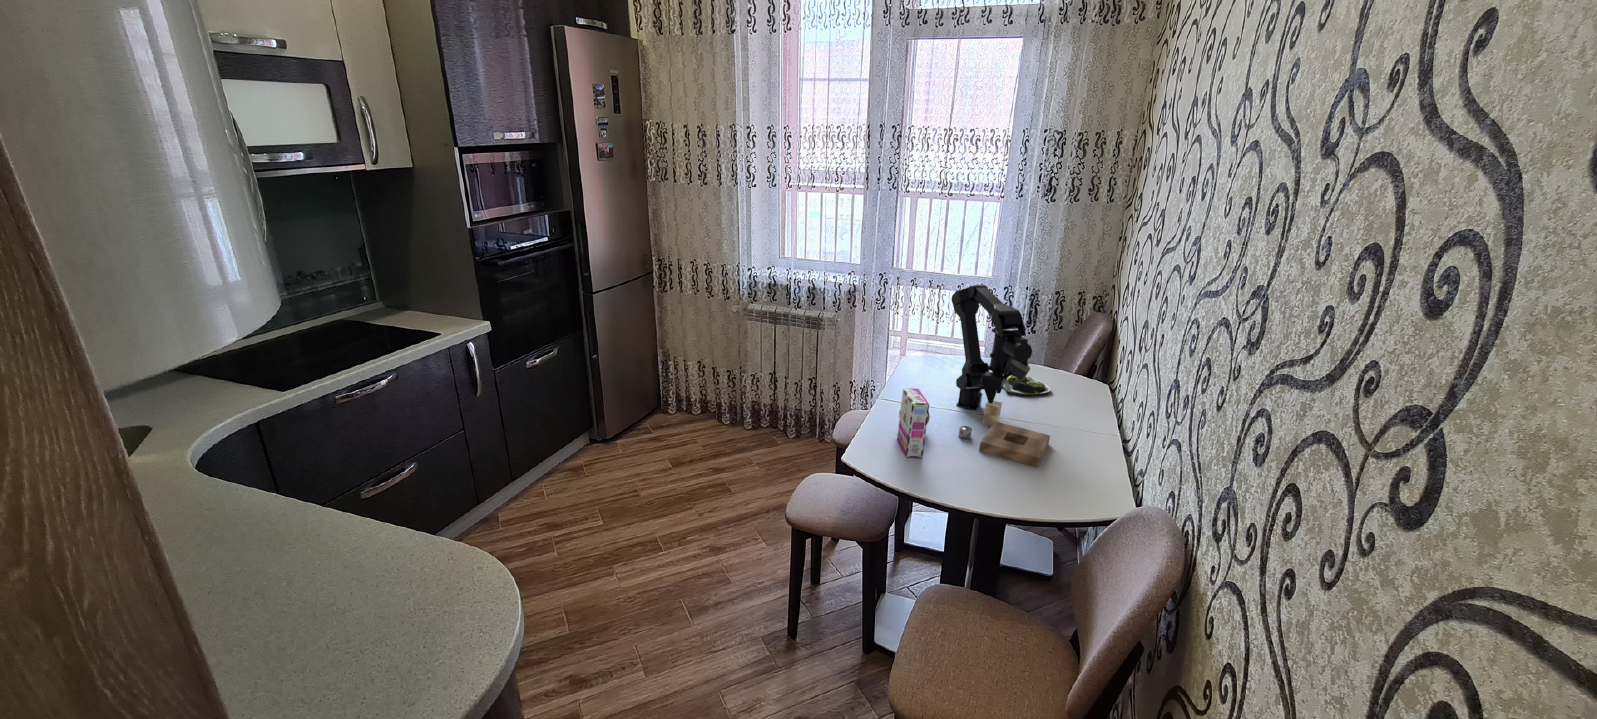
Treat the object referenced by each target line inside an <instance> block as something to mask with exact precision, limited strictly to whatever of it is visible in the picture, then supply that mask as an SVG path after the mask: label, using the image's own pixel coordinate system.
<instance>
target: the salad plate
mask: <svg viewBox="0 0 1597 719" xmlns="http://www.w3.org/2000/svg"><path fill="white" fill-rule="evenodd" d="M1002 389H1003V390H1005V391H1006V392H1008V393H1010V394H1011V395H1014V396H1017V397H1023V398H1035V397H1036V398H1037V397H1044V396H1048V395H1050V393H1051V392H1052V388H1051V387H1050V386H1049V385H1047V384H1045V383H1043V382H1041V380H1039V379H1037V378H1035V377H1032V376H1029V375H1028V376H1027V375H1026V377H1025V378H1024V379H1023V380H1019V379H1018V378H1017V377H1015V376H1014V375H1011V376H1009V377H1007V379H1006V381H1005V383H1004V386H1003V388H1002Z"/></svg>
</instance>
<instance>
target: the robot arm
mask: <svg viewBox="0 0 1597 719" xmlns="http://www.w3.org/2000/svg"><path fill="white" fill-rule="evenodd" d="M951 303H952V305H953V310H954V313H956V315H957V316H958V317H959V319H960V326H961V327H960V328H961V334H962V341H963V348H964V358H965V362H964V364H963V366H962V368H961V375H960V376H958V378H956V380H955V386H956V387H957V388H959V395H958V401H957V403H956V406H958V407H961V408H964V409H969V410H973V411H976V410H977V409H978V408H979V407H980V406H981V405H982V402H983V401H982V399H983V393H982V390H984V393H985V396H986V398H987V402H989V403H991V404H992V403H993V401H995V397H996V395H997V394H1001V392H1002V390H1003V389H1004V388H1003V386H1004V383H1005V381H1006V379H1007V377H1010V376H1011V375H1014V376H1015V377H1017V378H1018V379H1019V380H1023V379H1024V378H1025V377H1026V376H1027V375H1028V374H1029V372H1030V370H1031V366H1030V365H1029V363H1030V361H1029V359H1030V358H1031V357H1032V354H1033V348H1032V346H1031V345H1030V344H1029V343H1028V342H1029V340H1028V338H1026V335H1027V334H1026V331H1027V330H1026V327H1025V323H1024V320H1023V319H1024V318H1023V316H1022V313H1021V312H1020V311H1019V310H1018V309H1017V308H1015V307H1013V306H1010V305H1007V304H1005V303H1003V302H1002V301H1001V300H1000V299H999V298H998V297H997V295H995V294H994V293H993V292H992V291H991V290H990V289H989V288H988V286H987V285H986V284H972V285H970V286H968V287H966V288H963V289H959V290H956V291H954V293H953V294H952V295H951ZM980 306H981V307H982V308H983V309H984V310H985V311H986V312H988V314H989V315H990V322H991V323H992V324H993V326H994V327H993V328H992V329H991V332H992V333H994V337H993V344H992V351H991V352H990V354H989V357H990V363H989V364H988V362H984V360H983V359H982V355H981V347H980V338H979V333H978V332H979V331H978V322H977V316H976V315H977V313H978V311H979V309H980Z"/></svg>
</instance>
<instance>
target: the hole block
mask: <svg viewBox="0 0 1597 719" xmlns="http://www.w3.org/2000/svg"><path fill="white" fill-rule="evenodd" d="M1050 438H1051V435H1050V434H1046V433H1042V432H1038V431H1035V430H1031V429H1027V428H1023V427H1019V426H1014V425H1012V424H1008V423H1003V422H1000V421H999V422H996V421H995V422H994V423H993V425H992V426H991V427H990V428H989V429H988V430H987V432H986V433H985V434H984V436H983V438H982V439H981V440H980V442H979V449H978V451H979V452H981V453H984V454H988V455H992V456H996V457H998V458H999V457H1000V458H1003V459H1005V460H1009V461H1014V462H1016V463H1020V464H1024V465H1027V466H1030V467H1031V466H1032V467H1035V468H1038V467H1039V464H1040V462H1041V461H1042V458H1044V454H1045V452H1046V450H1047V448H1048V446H1049V445H1050V444H1049V443H1050Z"/></svg>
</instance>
